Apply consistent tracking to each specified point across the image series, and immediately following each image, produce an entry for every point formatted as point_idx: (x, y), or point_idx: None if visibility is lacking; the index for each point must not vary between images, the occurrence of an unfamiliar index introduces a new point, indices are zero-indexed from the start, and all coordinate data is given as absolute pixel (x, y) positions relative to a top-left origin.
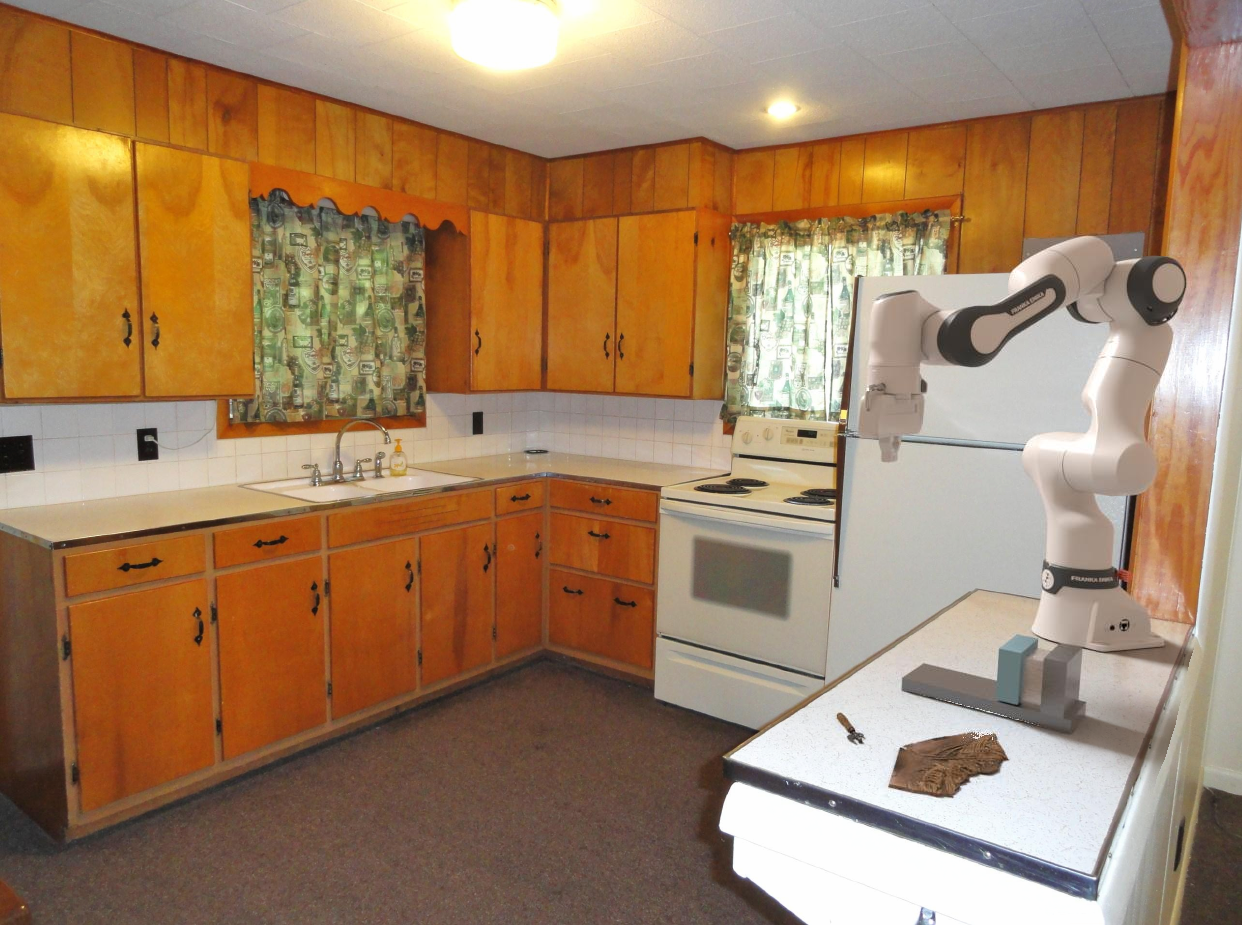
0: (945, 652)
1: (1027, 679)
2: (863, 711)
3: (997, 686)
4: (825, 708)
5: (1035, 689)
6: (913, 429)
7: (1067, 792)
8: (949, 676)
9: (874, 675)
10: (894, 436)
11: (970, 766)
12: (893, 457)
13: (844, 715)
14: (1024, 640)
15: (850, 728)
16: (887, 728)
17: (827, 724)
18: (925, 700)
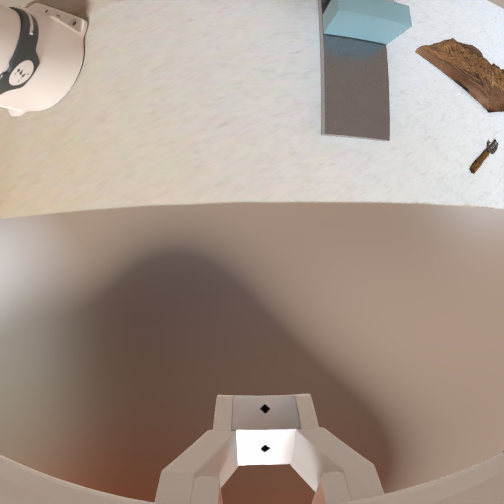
0: (211, 142)
1: None
2: (450, 157)
3: (392, 39)
4: (462, 189)
5: None
6: (1, 482)
7: (464, 9)
8: (349, 96)
9: (360, 181)
10: (365, 498)
11: (485, 62)
12: (276, 407)
13: (475, 166)
14: (358, 2)
15: (488, 154)
16: (466, 128)
17: (484, 174)
18: (393, 112)
